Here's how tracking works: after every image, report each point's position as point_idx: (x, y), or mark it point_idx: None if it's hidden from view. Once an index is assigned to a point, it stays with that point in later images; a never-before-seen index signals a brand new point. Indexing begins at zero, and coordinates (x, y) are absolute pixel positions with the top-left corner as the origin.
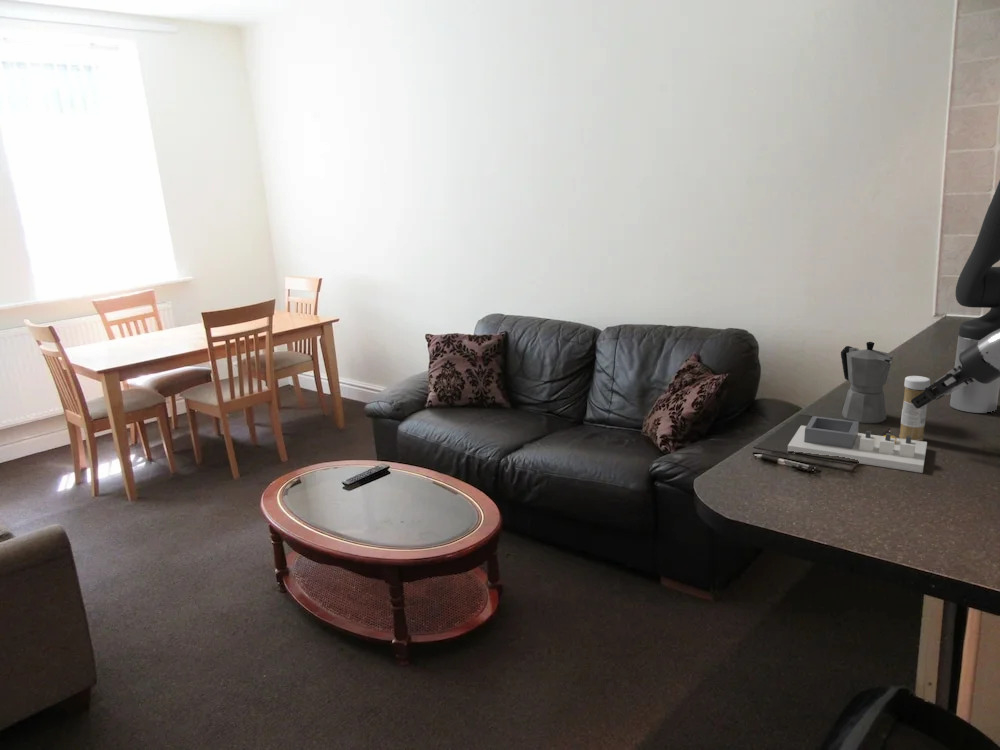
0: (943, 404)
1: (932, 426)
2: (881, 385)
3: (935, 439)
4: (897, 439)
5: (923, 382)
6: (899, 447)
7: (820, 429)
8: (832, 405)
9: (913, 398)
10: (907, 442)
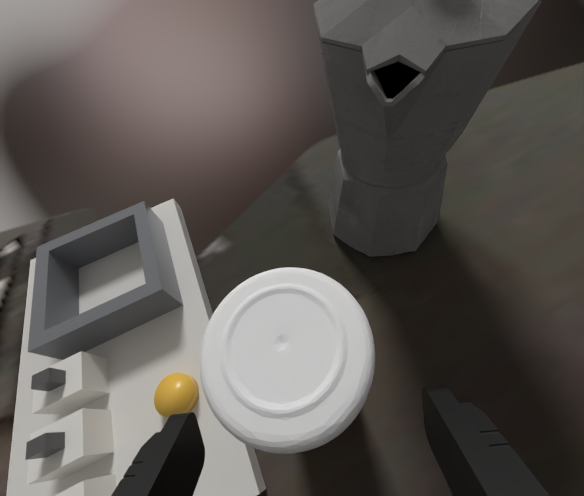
0: None
1: (500, 367)
2: (403, 168)
3: (385, 454)
4: None
5: (227, 430)
6: None
7: (41, 271)
8: None
9: (162, 428)
10: None
